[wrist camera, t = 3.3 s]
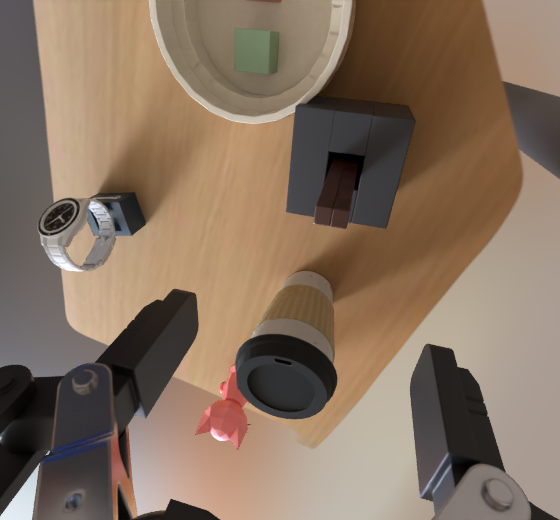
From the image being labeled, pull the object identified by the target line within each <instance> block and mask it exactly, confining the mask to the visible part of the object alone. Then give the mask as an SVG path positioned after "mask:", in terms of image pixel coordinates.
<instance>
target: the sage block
mask: <svg viewBox="0 0 560 520" xmlns="http://www.w3.org/2000/svg"><path fill="white" fill-rule="evenodd" d="M278 50H279V32H274V31H265V30H253V29H240V28H234V71H239V72H249V73H258V74H272V73H276V72H277V67H278Z"/></svg>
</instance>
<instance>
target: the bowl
mask: <svg viewBox="0 0 560 520" xmlns="http://www.w3.org/2000/svg"><path fill="white" fill-rule="evenodd" d="M149 6H150V15H151V22H152V26H153V29H154V32H155V35H156V39H157V42H158V45H159V49H160V50H161V53H162V55H163V57H164V59H165V61H166V62H167V64H168V66H169V68H170V70H171V72H172V74H173V75H174V77H175V78H176V79H177V81H178V82H179V83H180V84H181V85H182V87H183V88H184V89H185V90H186V92H187V93H188V94H189V95H190V96H191V97H192V98H193V99H194V100H196V101H197V102H198V103H200V104H201V105H202V106H204V107H205V108H206V109H208V110H209V111H210V112H212V113H214V114H217V115H219V116H221V117H224V118H226V119H228V120H231V121H235V122H243V123H251V124H258V123H264V122H270V121H276V120H279V119H281V118H283V117H285V116H287V115H289V114H291V113H294V112H295V106H296V105H298V104H299V103H303V104H306V103H308V102H309V101H310V100H311V99H313V98H314V97H315V96H316V95H317V94H318V93H319V92H321V91H322V90H323V89H324V88H325V87H326V86H327V85H328V84H329V82H330V81H331V79H332V78H333V76H334V75H335V73H336V72H337V70H338V69H339V67H340V66H341V64H342V62H343V59H344V57H345V54H346V51H347V49H348V46H349V44H350V41H351V38H352V33H353V27H354V20H355V14H356V0H281V3H277V2H262V1H247V0H149ZM234 28H240V29H253V30H265V31H274V32H279V50H278V67H277V72H276V73H272V74H258V73H249V72H239V71H234Z"/></svg>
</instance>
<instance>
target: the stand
mask: <svg viewBox="0 0 560 520" xmlns="http://www.w3.org/2000/svg"><path fill="white" fill-rule="evenodd" d="M414 125H415V118H414V116H413V114H412V112H411V110H410V108H409V106H406V105H397V104H388V103H379V102H370V101H361V100H352V99H342V98H334V97H325V96H315V97H314V98H313V99H311V100H310V101H309V102H308V103H306V104H303V103H299V104H298V105H296V106H295V117H294V128H293V140H292V151H291V162H290V174H289V185H288V197H287V208H286V212H288V213H294V214H300V215H306V216H312V217H314V215H315V208H316V204H317V201H318V199H319V196H320V194H321V191H322V188H323V186H324V183H325V181H326V178H327V176H328V173H329V170H330V168H331V165H332V163H333V158H334V152H339V153H346V154H354V155H361V156H363V160H362V165H361V166H358V167H357V173H356V179H355V185H354V191H353V197H352V203H351V209H350V214H349V219H348V222H349V223H351V222H352V223H355V224H361V225H367V226H373V227H379V228H385V229H386V228H387V225H388V221H389V218H390V214H391V210H392V206H393V203H394V199H395V195H396V192H397V188H398V184H399V180H400V177H401V173H402V169H403V166H404V162H405V158H406V154H407V151H408V147H409V143H410V140H411V136H412V132H413V129H414Z"/></svg>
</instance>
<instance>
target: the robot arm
mask: <svg viewBox="0 0 560 520" xmlns="http://www.w3.org/2000/svg"><path fill="white" fill-rule="evenodd" d="M198 325H199V324H198V311H197V298H196V294H195V293H193V292H188V291H183V290H179V289H173V290H172V291H171V292H170V293H169V294H168V295H167V297H166V298H165V299H164V300H163V301H162V300H156V301H154V302H152V303H150V304H149V305H147V306H145V307H144V308H143V309H142V310H141V311H140V312H139V314H138V315H137V316H136V317H135V319H134V320H132V321H131V322H130V324H129V325H128V326H127V328H125V329H124V330H123V331H122V333H121V334H120V335H119V336H118V337H117V338H116V339H115V340H114V342H113V343H112V344H111V345H110V346H109V347H108V348H107V349H106V351H105V352H104V353H103V354H102V355H101V356H100V357H99V358H98V360H97V361H96V362H95V363H87V364H83V365H80V366H78V367H76V368H74V369H72V370H71V371H70V372H68V373H67V374H66V375H65V376H55V377H33V376H32V374H31V372H30V370H29V369H28V368H27V367H25V366H22V365H8V366H4V367H1V368H0V516H1V514H2V513H3V512H4V510H5V509H6V508H7V506H8V505H9V503H10V502H11V501H12V499H13V498H14V496H15V495H16V494H17V493H18V491H19V490H20V488H21V487H22V486H23V485H24V483H25V482H26V481H27V479H28V478H29V476H30V475H31V474H32V472H33V471H34V470H35V468H36V467H37V466H38V464H39V463H40V466H39V471H38V479H37V487H36V495H35V502H34V510H33V517H32V520H220V519H218V518H217V517H215V516H214V515H213V514H212V513H210V512H209V511H207V510H204V509H201V508H198V507H195V506H191V505H188V504H185V503H182V502H179V501H176V500H173V499H171V500H170V502H169V504H168V507H167V509H166V511H155V512H150V513H147V514H143V515H140V516H138V517H137V508H136V502H135V497H134V491H133V484H132V472H131V458H130V445H129V432H128V424H129V422H130V421H131V419H132V418H133V416H134V415H135V416H139V417H142V418H147V416H148V414H149V413H150V411H151V409H152V408H153V406H154V405H155V403H156V401H157V400H158V398H159V397H160V395H161V393H162V392H163V390H164V388H165V387H166V385H167V384H168V382H169V380H170V379H171V377H172V376H173V374H174V372H175V371H176V369H177V367H178V366H179V364H180V363H181V361H182V359H183V358H184V356H185V355H186V353H187V351H188V350H189V348H190V346H191V345H192V343H193V342H194V340H195V338H196V335H197V332H198ZM410 397H411V407H412V418H413V428H414V438H415V449H416V458H417V470H418V479H419V490H420V498H422V499H426V500H429V501H433V503H434V511H435V516H434V517H433V518H432V520H558V519H557V518H555V517H553V516H552V515H549V514H548V513H546V512H545V511H543V510H541V509H540V508H538V507H536V506H535V505H533V504H532V503H531V502H529V501H528V499H527V497H526V495H525V494H524V492H523V490H522V489H521V488H520V486H519V485H518V484H517V483H516V482H515V480H513V479H512V478H511V477H510V476H509V475H508V474H506V471H505V469H504V466H503V463H502V459H501V456H500V453H499V449H498V446H497V443H496V439H495V436H494V433H493V430H492V426H491V423H490V420H489V417H487V414H488V413H487V410H486V406H485V404H484V403H483V401H484V400H483V397H482V393H481V390H480V386H479V384H478V383H477V381H476V380H475V378H474V377H473V376H472V374H471V373H470V372H469V370H468V369H464V368H459V367H457V363H456V360H455V355H454V352H453V350H452V349H450V348H445V347H440V346H436V345H431V344H426V345H425V346H424V349H423V351H422V353H421V356H420V358H419V360H418V363H417V365H416V367H415V370H414V372H413V375H412V378H411V384H410ZM48 451H50V453H49V455H46V454H47V452H48ZM45 455H46V456H45Z"/></svg>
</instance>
